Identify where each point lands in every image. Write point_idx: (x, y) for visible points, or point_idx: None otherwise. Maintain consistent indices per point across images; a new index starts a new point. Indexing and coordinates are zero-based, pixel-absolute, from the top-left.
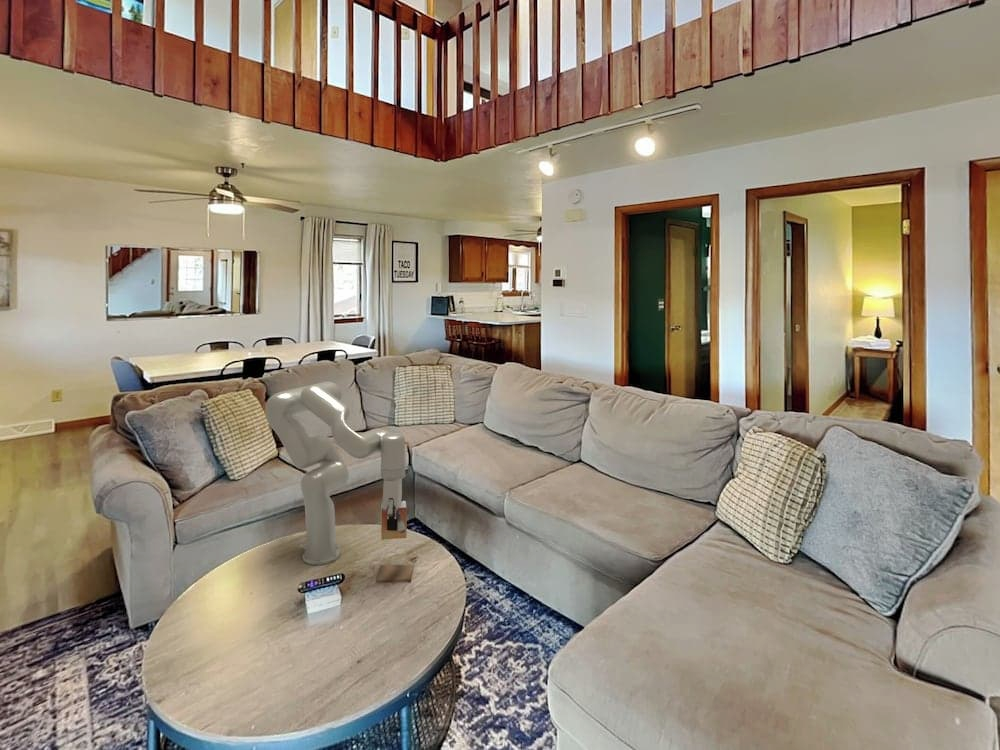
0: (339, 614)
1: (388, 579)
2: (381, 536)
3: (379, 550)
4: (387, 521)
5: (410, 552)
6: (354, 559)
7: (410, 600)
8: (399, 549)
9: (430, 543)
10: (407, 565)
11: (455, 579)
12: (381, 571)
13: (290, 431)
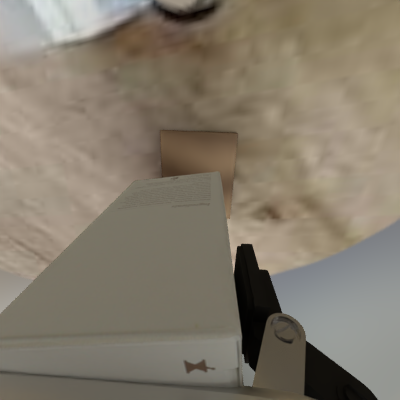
0: (13, 51)
1: (162, 164)
2: (130, 186)
3: (345, 115)
4: None
5: (307, 205)
6: (306, 32)
7: (96, 214)
8: (333, 175)
9: (342, 249)
10: (227, 205)
11: None
12: (202, 141)
13: None
